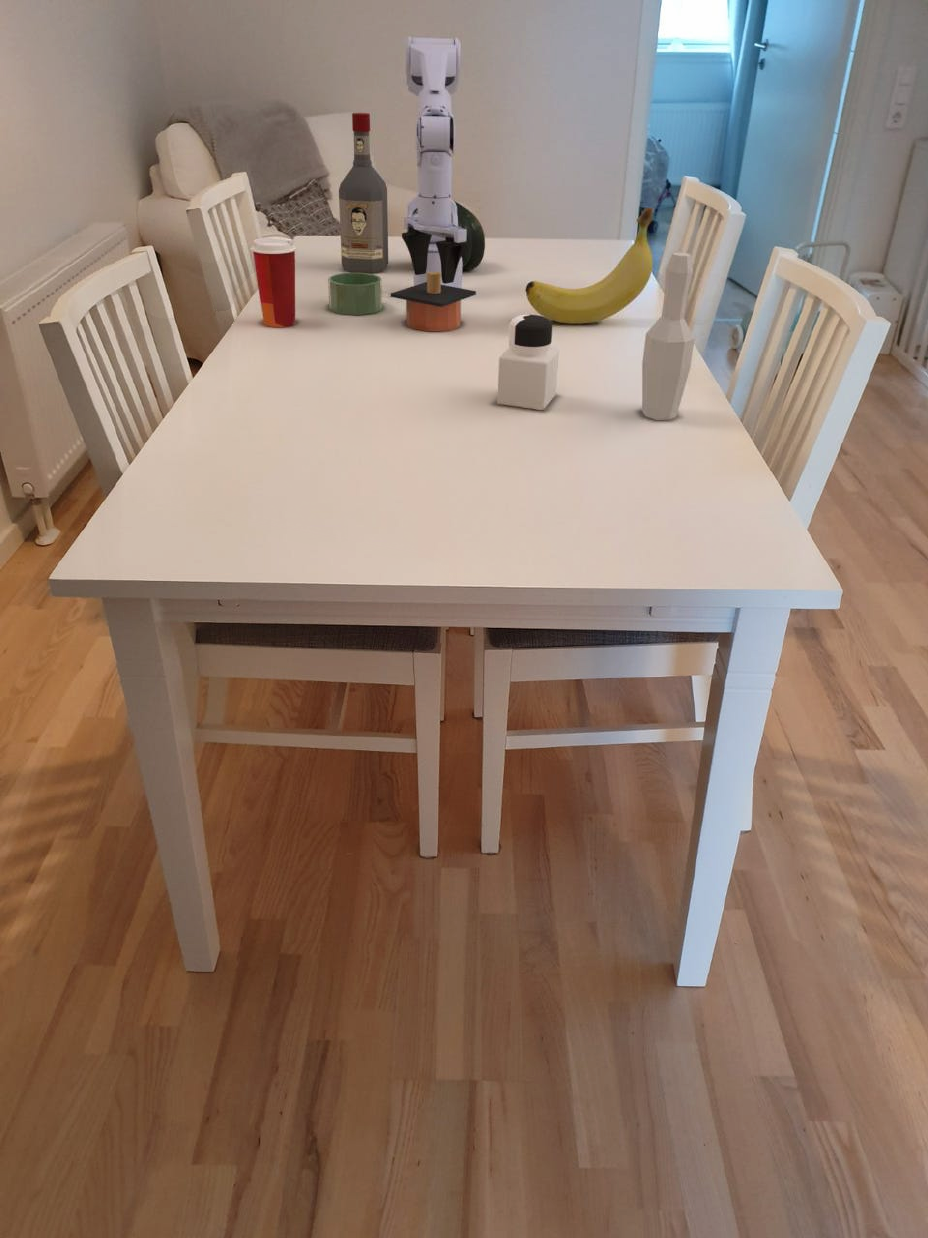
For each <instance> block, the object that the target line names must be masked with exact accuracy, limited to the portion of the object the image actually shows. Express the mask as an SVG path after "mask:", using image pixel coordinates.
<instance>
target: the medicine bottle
mask: <svg viewBox="0 0 928 1238" xmlns="http://www.w3.org/2000/svg"><path fill="white" fill-rule="evenodd" d="M553 326H554V324H553V322H552V320H551V319H548V318H546V317H544V316H542V315H540V314H539V315H538V314H521V315H517V316H515V317H513V318H512V319H511V320H510V321H509V336H508V348H507V349H506V350H505V351H504V352H503V353H502V354H501V355H500V356H499V357H498V374H497V375H498V376H497V399H496V400H497V401H496V404H498V405H502V406H510V407H516V408H522V409H523V408H524V409H529V410H538V411H544V410H545V409H546V407H547V406H548V405H549V404H550V403H551V401H552V400H553V399H554V397H555V396H556V394H557V381H558V369H559V356H560V350H559V348H556V347H552V340H553Z"/></svg>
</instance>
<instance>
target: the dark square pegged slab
mask: <svg viewBox="0 0 928 1238" xmlns="http://www.w3.org/2000/svg"><path fill="white" fill-rule="evenodd" d="M476 295H477V291H476V290H473V289H472V290H471V289H465V288H462V289H461V288H456V287H451V286H445V285H441V273H440V272H438V271H429V272H427V282H425V283H422V284H418V285H415V286H414V285H413V286H410V287H406V288H403V289H400V290H398V291H393V292H391V293H390V298H394V299H400V300H405V301H406V300H409V301H414V302H419V303H424V304H429V305H434V306H439V307H443V306H446V305H449V304H452V303H454V302H457V301H460V300H461V301H463V300H465V299H468V298H471V297H474V296H476Z"/></svg>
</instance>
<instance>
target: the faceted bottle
mask: <svg viewBox="0 0 928 1238" xmlns="http://www.w3.org/2000/svg"><path fill="white" fill-rule="evenodd" d="M693 274H694V267H693V259H692V255H691V254H690V253H689V252H680V251H679V252H673V253H671V256H670V257H669V261H668V263H667V264H666V266H665V277H664V296H663V302H662V303H663V304H662V309H661V310H662V311H661V316H660V317H659V318H658V320H656V322H655V323H654V324H653V325H652V326H651V327H650V328H649V330H647V332H645V339H644V346H643V353H642V354H643V355H642V362H641V363H642V364H641V372H642V373H641V377H642V378H641V400H642V401H641V412H642V414H643V415H644V416H645V417H646V418H649V419H652V420H655V421H670V420H672V419H674V418H676V417H677V416H678V412H679V408H680V405H681V402H682V399H683V395H684V391H685V388H686V385H687V380H688V377H689V374H690V370H691V365H692V359H693V353H694V347H695V339H696V338H695V336H694V335H693V332H692V331H691V329H690V326H689V325H688V323H687V321H686V320H685V315H686V310H687V309H686V308H687V302H688V295H689V290H690V287H691V282H692V279H693Z"/></svg>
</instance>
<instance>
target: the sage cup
mask: <svg viewBox="0 0 928 1238" xmlns="http://www.w3.org/2000/svg"><path fill="white" fill-rule="evenodd" d="M382 283H383V282H382V278H381V277H380V276H379V275H376V274H374V273H358V272H341V273H336V274H332V275H330V276H329V277H328V278H327V291H328V305H329V310H330V311H331V312H333V313H336V314H339V315H348V316H365V315H371V314H375V313H378V312H381V310H382V307H383V292H382V287H383V285H382Z"/></svg>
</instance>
